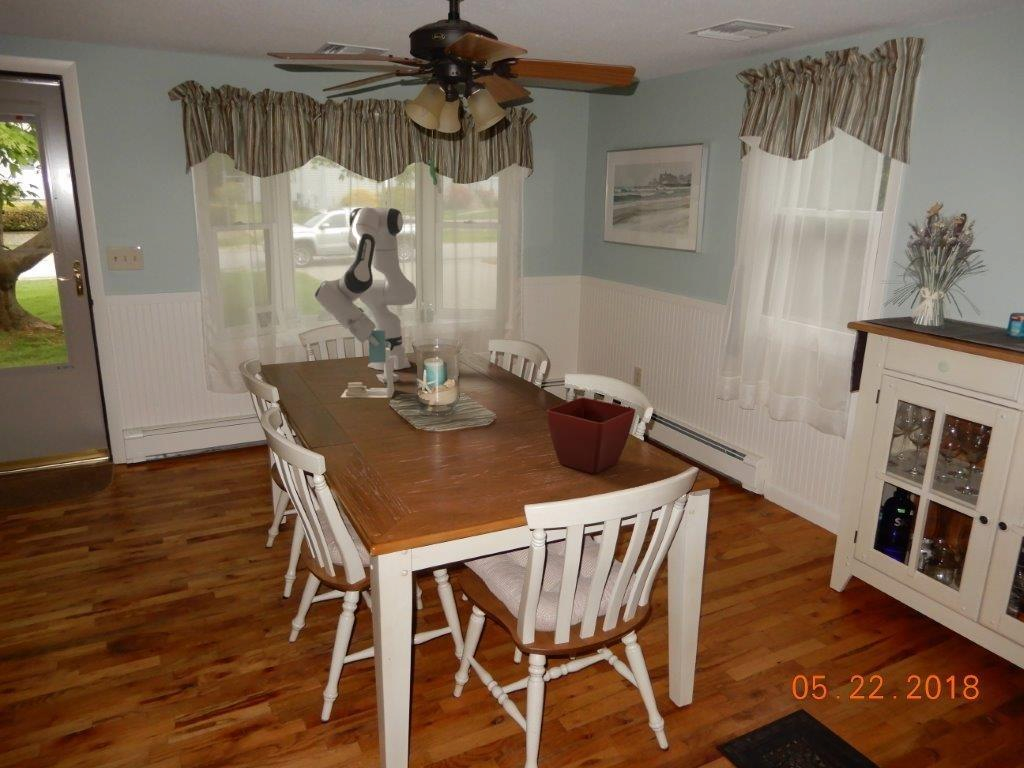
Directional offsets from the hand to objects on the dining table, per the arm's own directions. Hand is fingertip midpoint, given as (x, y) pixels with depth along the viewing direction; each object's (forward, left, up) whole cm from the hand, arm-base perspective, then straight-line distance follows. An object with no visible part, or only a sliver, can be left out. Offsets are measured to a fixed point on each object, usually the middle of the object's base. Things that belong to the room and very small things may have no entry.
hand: (378, 343), depth 269 cm
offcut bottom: (0, -9, -19) cm, 21 cm away
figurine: (-19, 0, -21) cm, 28 cm away
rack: (0, -5, -21) cm, 21 cm away
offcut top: (+1, -9, -18) cm, 20 cm away
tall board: (0, -1, -7) cm, 7 cm away
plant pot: (+69, +70, -21) cm, 101 cm away
